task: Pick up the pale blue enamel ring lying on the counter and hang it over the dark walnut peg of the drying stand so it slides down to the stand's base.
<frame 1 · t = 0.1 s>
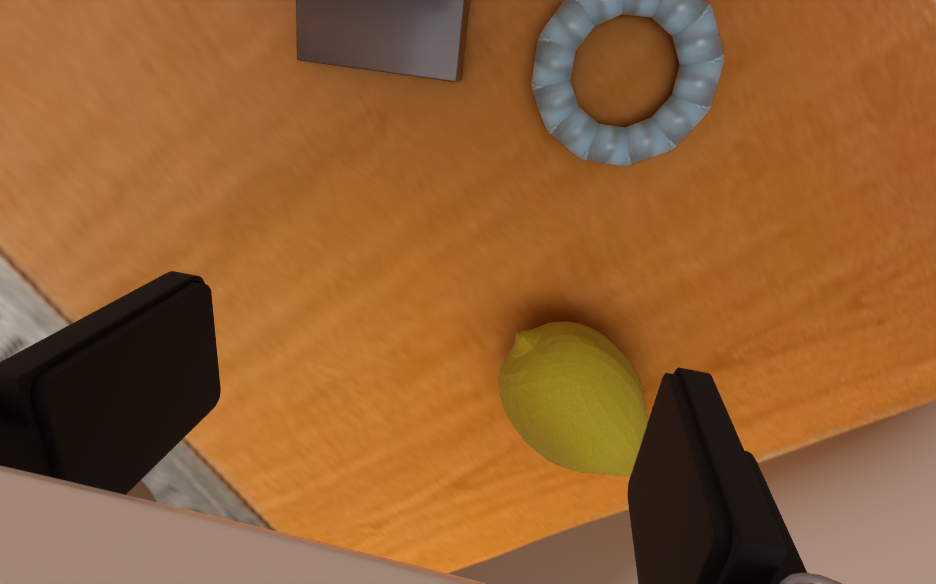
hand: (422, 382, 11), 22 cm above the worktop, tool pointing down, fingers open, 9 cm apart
lemon: (572, 362, 36), on the worktop
ring: (623, 72, 27), point 1 cm above the worktop
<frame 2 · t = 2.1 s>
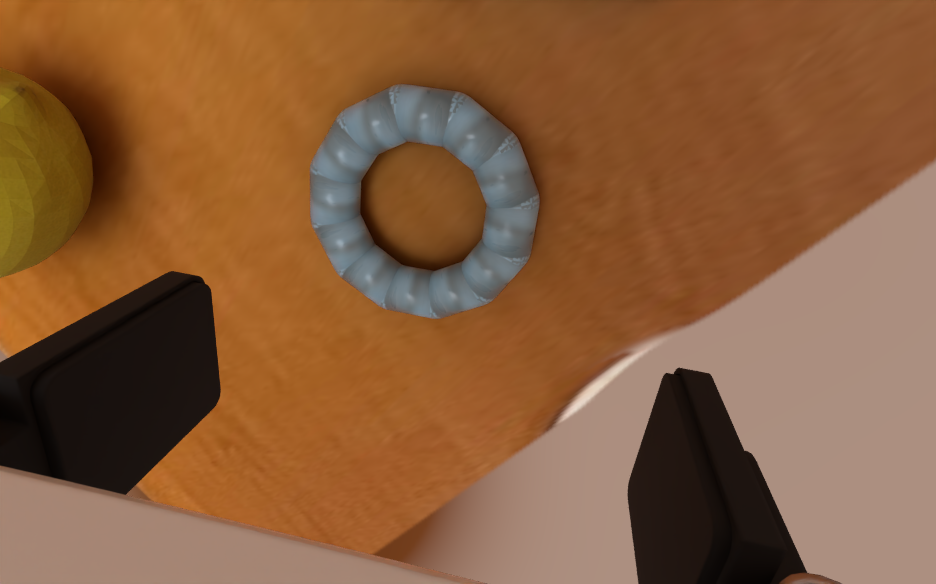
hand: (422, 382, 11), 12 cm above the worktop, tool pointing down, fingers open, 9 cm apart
lemon: (56, 160, 25), on the worktop
ring: (420, 210, 21), point 1 cm above the worktop
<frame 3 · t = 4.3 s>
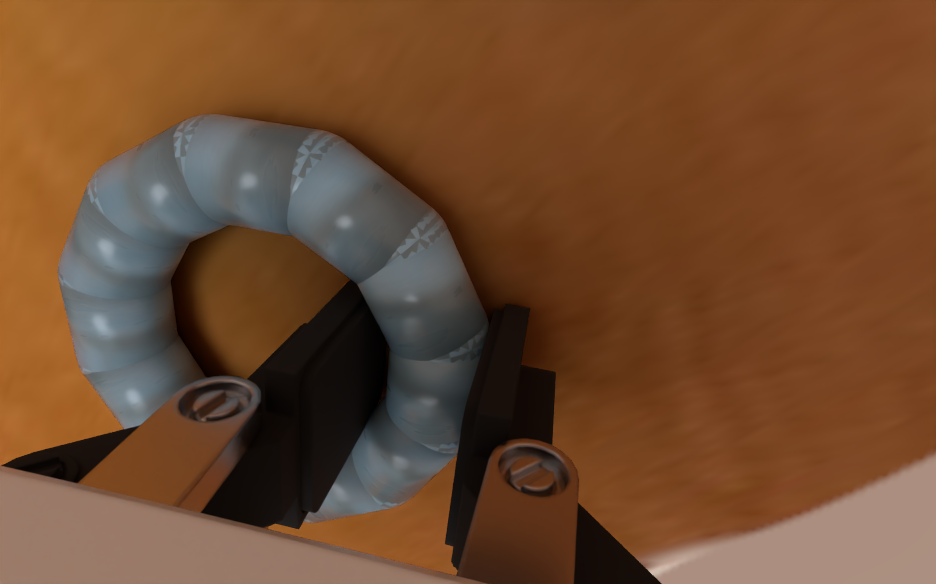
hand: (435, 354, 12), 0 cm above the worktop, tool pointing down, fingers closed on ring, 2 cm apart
ring: (274, 342, 11), point 1 cm above the worktop, touching gripper
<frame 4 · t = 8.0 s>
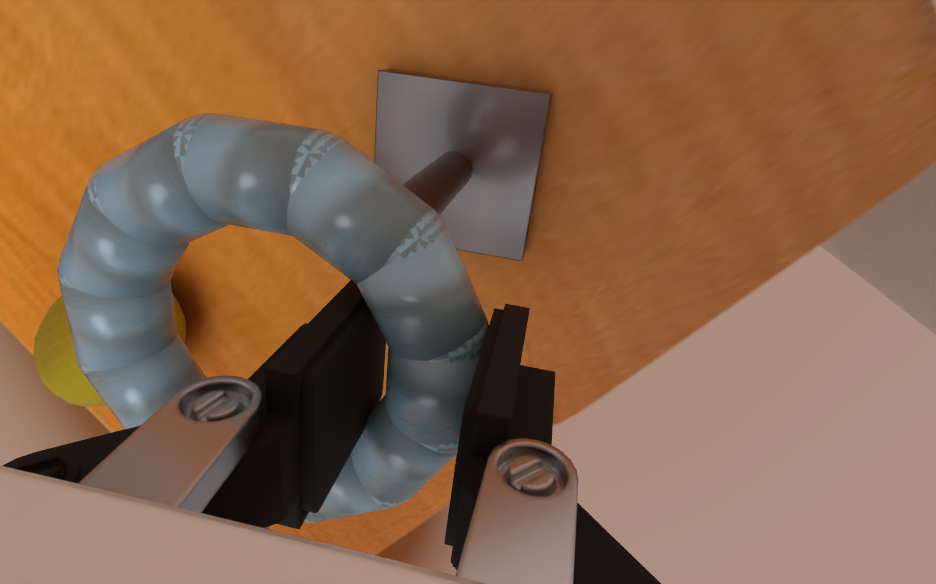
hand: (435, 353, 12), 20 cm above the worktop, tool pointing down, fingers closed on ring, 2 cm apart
peg stand: (458, 165, 30), on the worktop
lemon: (156, 312, 39), on the worktop
ring: (273, 342, 12), point 21 cm above the worktop, touching gripper
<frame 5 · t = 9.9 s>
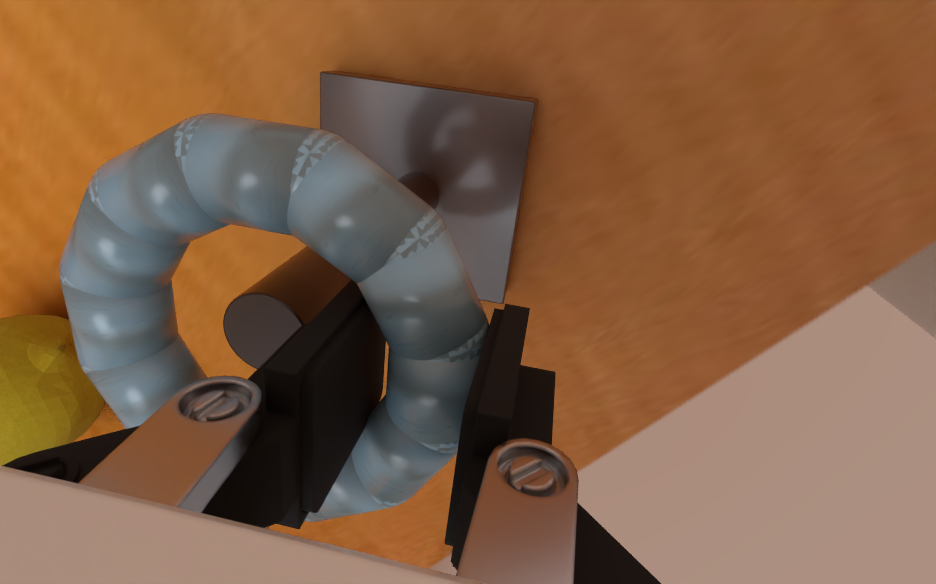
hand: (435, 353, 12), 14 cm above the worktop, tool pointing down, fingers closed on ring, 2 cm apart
peg stand: (425, 187, 25), on the worktop
lemon: (79, 355, 33), on the worktop
ring: (274, 341, 12), point 15 cm above the worktop, touching gripper
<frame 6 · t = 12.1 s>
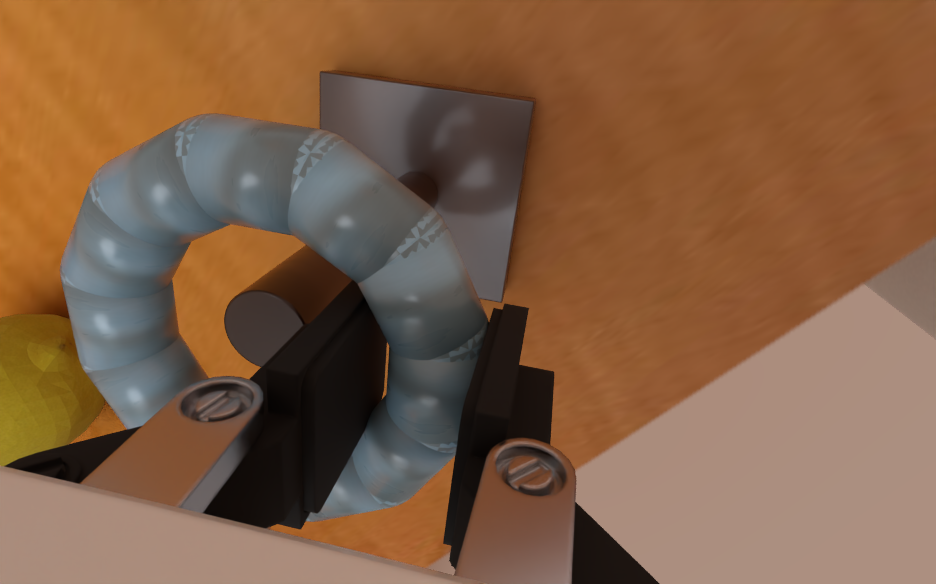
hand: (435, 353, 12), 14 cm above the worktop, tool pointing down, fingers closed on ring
peg stand: (424, 186, 25), on the worktop
lemon: (79, 354, 33), on the worktop
ring: (274, 341, 12), point 15 cm above the worktop, touching gripper
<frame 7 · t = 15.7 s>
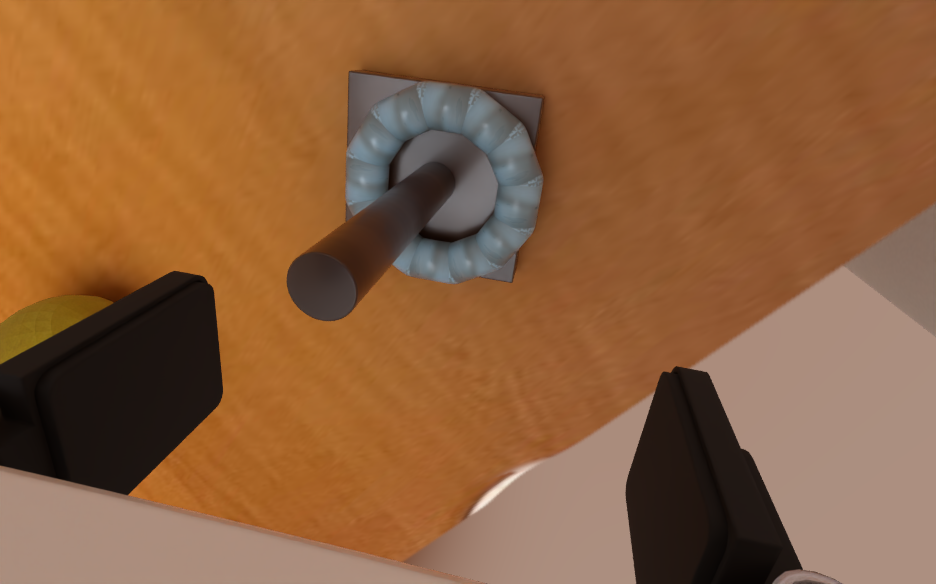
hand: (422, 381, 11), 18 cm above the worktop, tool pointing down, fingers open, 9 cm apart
peg stand: (441, 176, 27), on the worktop
lemon: (116, 334, 36), on the worktop
ring: (441, 189, 25), point 2 cm above the worktop, touching peg stand
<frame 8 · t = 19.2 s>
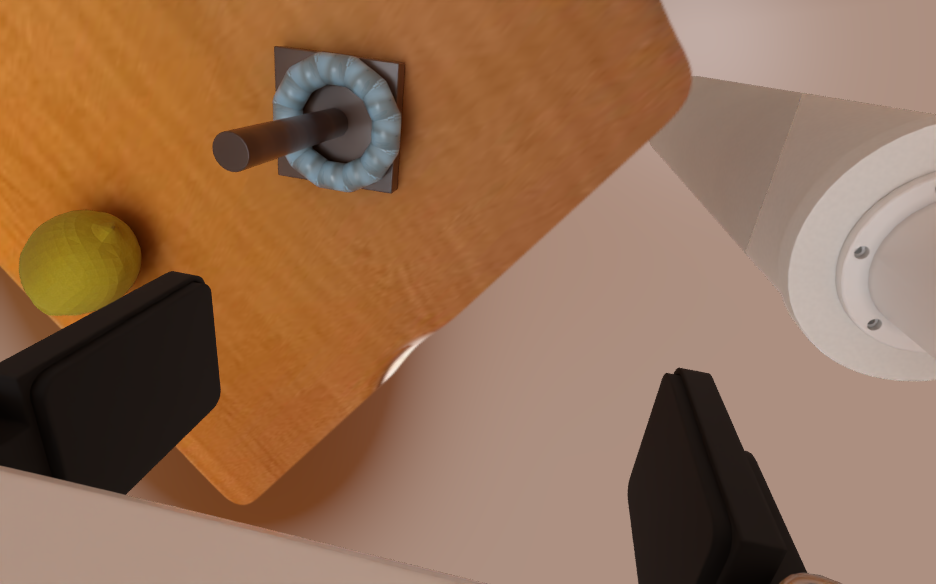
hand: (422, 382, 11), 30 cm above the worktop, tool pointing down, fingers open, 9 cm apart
peg stand: (342, 120, 40), on the worktop
lemon: (119, 247, 48), on the worktop
ring: (336, 125, 37), point 2 cm above the worktop, touching peg stand
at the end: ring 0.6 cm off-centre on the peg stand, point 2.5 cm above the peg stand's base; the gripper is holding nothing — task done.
